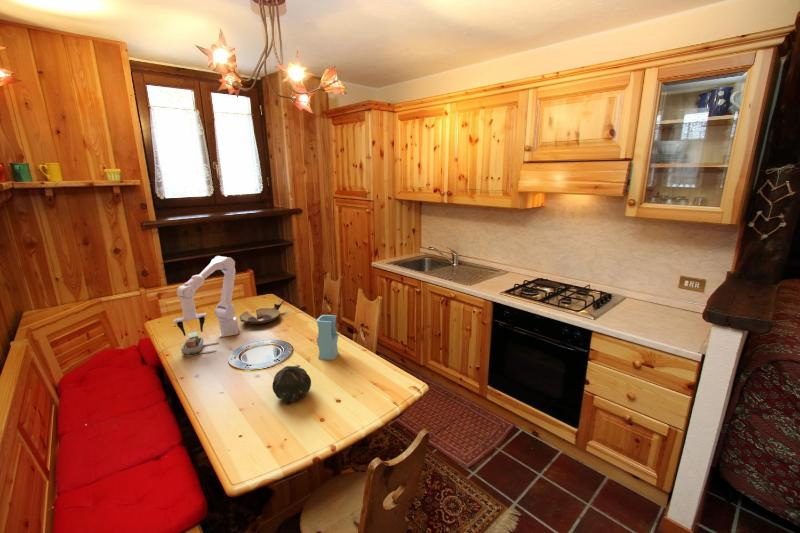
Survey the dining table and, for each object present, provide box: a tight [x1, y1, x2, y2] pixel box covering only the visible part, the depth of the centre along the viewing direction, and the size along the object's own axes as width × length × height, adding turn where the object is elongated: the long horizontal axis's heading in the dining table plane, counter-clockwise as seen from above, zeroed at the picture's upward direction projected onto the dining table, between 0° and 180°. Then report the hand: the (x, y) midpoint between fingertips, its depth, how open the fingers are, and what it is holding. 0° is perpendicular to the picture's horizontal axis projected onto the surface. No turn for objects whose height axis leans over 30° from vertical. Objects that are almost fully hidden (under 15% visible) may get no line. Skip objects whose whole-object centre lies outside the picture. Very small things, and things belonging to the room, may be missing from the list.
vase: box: [316, 314, 339, 361], centre depth 177 cm, size 8×8×20 cm
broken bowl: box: [239, 299, 284, 325], centre depth 222 cm, size 22×30×8 cm
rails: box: [182, 341, 220, 358], centre depth 188 cm, size 15×10×1 cm
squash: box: [271, 365, 312, 404], centre depth 147 cm, size 14×15×15 cm
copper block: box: [184, 338, 197, 348], centre depth 183 cm, size 4×4×4 cm
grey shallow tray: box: [180, 337, 204, 356], centre depth 186 cm, size 8×11×4 cm
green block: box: [187, 331, 200, 343], centre depth 187 cm, size 4×4×4 cm
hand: (193, 333), depth 187 cm, fingers open, 7 cm apart
